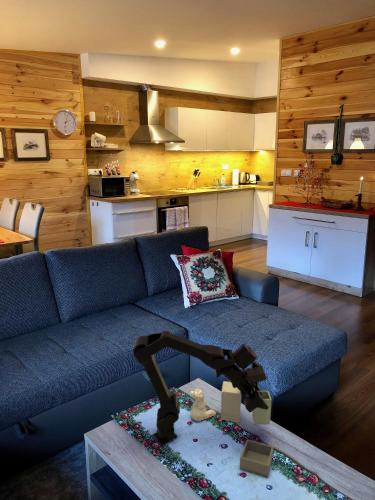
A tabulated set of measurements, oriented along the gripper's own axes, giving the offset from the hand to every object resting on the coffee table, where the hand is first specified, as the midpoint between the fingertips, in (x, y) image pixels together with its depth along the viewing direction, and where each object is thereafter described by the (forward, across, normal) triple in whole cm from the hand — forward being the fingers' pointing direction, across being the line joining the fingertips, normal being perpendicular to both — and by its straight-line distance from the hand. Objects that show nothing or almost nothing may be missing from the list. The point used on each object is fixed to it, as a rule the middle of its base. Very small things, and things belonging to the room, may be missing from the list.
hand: (265, 403), depth 141 cm
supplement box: (+2, +11, +17) cm, 21 cm away
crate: (+6, -13, +13) cm, 19 cm away
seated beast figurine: (-6, +11, +26) cm, 29 cm away
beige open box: (+4, 0, +6) cm, 7 cm away
